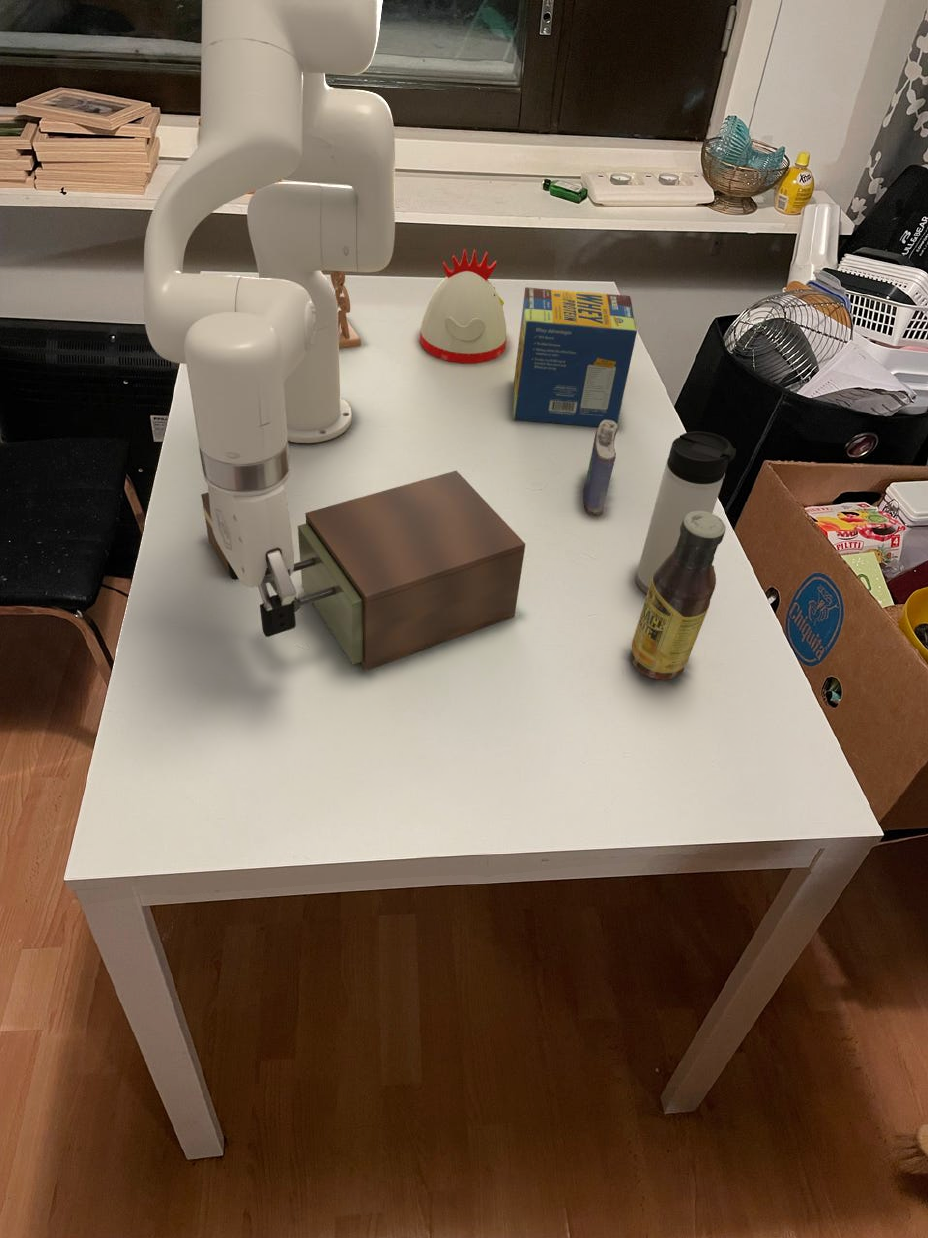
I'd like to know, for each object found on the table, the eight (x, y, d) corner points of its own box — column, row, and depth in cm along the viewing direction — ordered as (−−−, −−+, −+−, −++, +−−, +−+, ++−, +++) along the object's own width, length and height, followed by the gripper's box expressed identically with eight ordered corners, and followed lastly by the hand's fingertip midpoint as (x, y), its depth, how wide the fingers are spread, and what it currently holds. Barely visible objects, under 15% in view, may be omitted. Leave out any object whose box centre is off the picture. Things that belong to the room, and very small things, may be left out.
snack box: (229, 576, 105) (222, 529, 100) (208, 541, 110) (200, 493, 105) (262, 566, 107) (257, 519, 102) (241, 532, 111) (234, 484, 106)
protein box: (512, 383, 141) (523, 285, 130) (612, 392, 141) (632, 294, 130) (512, 420, 133) (524, 319, 122) (617, 429, 134) (639, 329, 123)
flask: (603, 517, 118) (618, 446, 111) (580, 514, 118) (594, 443, 111) (606, 476, 125) (621, 407, 117) (584, 473, 125) (598, 404, 118)
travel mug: (678, 609, 107) (724, 466, 93) (626, 586, 109) (664, 443, 95) (698, 580, 111) (745, 439, 97) (648, 559, 113) (687, 417, 99)
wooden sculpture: (361, 345, 146) (361, 271, 138) (338, 348, 145) (336, 274, 136) (343, 319, 152) (341, 247, 143) (320, 322, 150) (317, 249, 142)
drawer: (305, 682, 94) (300, 620, 87) (256, 601, 101) (249, 539, 95) (495, 613, 103) (503, 553, 97) (437, 543, 111) (441, 484, 105)
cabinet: (366, 670, 96) (365, 596, 89) (309, 586, 105) (305, 512, 98) (514, 616, 104) (525, 543, 97) (450, 541, 113) (456, 469, 105)
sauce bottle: (623, 642, 102) (662, 497, 88) (677, 641, 103) (725, 498, 89) (635, 686, 98) (678, 541, 84) (692, 685, 98) (744, 542, 84)
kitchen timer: (505, 366, 144) (516, 273, 134) (418, 359, 144) (421, 265, 134) (504, 325, 154) (514, 235, 144) (422, 318, 154) (426, 228, 144)
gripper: (171, 418, 84) (196, 561, 96) (240, 525, 74) (258, 671, 86) (250, 400, 87) (264, 542, 99) (326, 501, 77) (332, 645, 89)
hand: (262, 601), depth 93 cm, fingers open, 8 cm apart
